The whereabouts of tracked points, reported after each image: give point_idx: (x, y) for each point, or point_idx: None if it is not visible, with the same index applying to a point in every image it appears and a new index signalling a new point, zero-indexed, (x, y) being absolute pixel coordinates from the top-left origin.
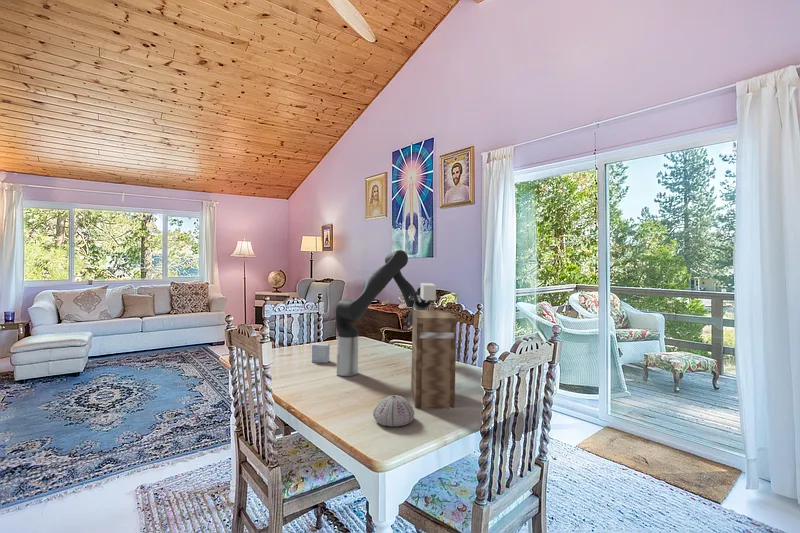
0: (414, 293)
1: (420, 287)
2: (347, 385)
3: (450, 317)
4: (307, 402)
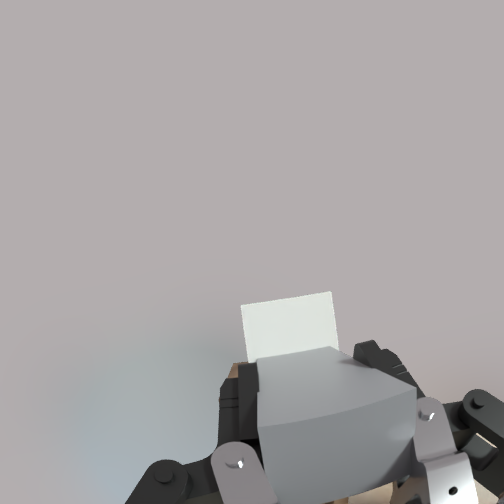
0: (454, 415)
1: (360, 343)
2: (489, 491)
3: (244, 363)
4: (479, 434)
